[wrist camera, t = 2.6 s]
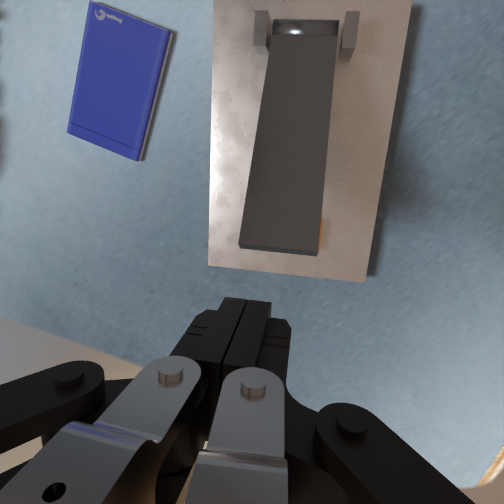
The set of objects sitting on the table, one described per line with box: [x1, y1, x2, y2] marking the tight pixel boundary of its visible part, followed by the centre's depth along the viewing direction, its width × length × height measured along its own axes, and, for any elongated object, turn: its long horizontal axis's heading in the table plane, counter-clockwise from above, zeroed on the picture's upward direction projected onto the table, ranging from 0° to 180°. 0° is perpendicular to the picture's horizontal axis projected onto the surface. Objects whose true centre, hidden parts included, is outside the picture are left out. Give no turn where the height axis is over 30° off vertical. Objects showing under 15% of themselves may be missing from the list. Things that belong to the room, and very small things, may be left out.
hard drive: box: [67, 0, 173, 161], centre depth 35 cm, size 2×8×12 cm
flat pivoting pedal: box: [238, 19, 339, 256], centre depth 25 cm, size 19×5×2 cm
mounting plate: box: [208, 0, 412, 283], centre depth 32 cm, size 24×16×5 cm, turn 177°
